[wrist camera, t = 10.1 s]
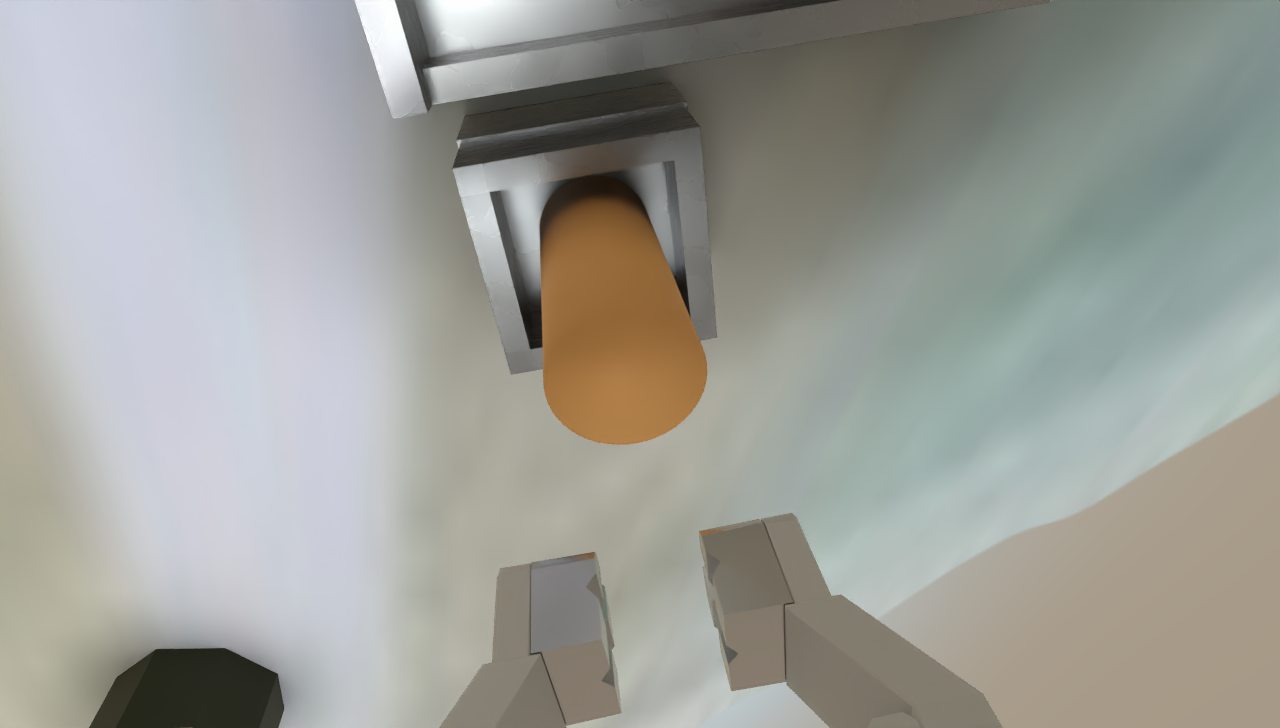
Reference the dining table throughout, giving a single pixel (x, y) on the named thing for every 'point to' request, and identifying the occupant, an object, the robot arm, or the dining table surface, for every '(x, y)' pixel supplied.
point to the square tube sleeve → (566, 150)
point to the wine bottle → (193, 693)
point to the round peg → (613, 318)
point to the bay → (601, 37)
